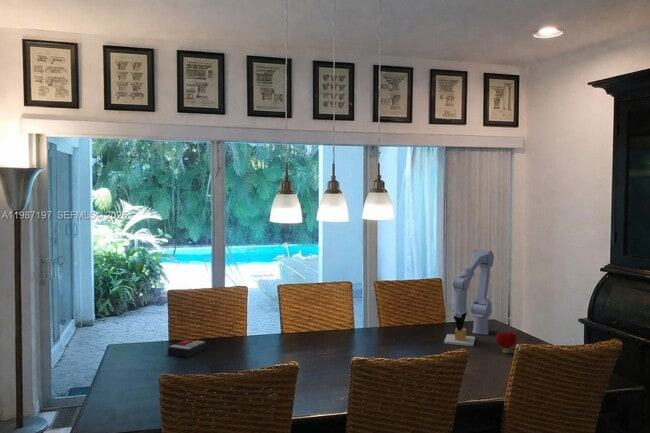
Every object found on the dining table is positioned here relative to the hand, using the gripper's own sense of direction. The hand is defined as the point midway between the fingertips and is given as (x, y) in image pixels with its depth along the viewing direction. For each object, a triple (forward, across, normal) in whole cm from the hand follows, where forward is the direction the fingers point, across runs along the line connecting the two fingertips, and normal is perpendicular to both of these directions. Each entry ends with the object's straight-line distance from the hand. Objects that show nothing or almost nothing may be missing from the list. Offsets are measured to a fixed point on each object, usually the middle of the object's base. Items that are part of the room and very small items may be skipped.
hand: (460, 328), depth 268 cm
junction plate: (+6, 0, 0) cm, 6 cm away
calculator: (+6, +62, -118) cm, 134 cm away
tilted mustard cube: (+5, 0, 0) cm, 5 cm away
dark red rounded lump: (+7, +13, +22) cm, 26 cm away
